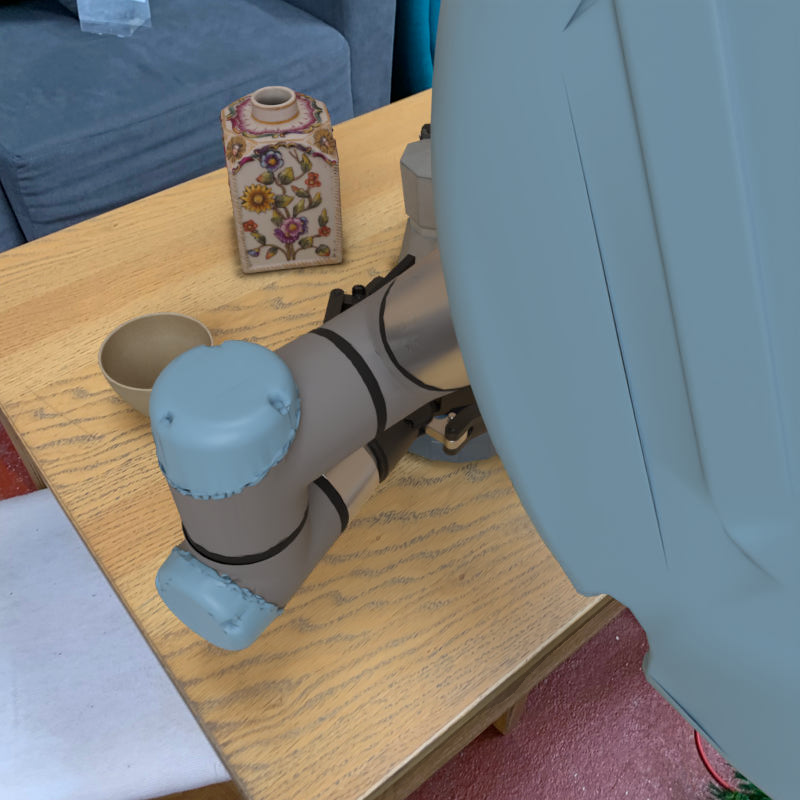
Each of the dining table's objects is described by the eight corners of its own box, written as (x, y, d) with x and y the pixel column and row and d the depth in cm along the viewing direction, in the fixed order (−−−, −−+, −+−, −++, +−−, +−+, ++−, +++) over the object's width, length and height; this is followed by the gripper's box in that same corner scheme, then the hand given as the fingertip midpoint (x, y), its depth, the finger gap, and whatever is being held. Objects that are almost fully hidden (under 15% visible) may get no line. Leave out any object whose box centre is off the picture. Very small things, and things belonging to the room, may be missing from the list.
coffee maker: (484, 304, 84) (505, 155, 71) (405, 311, 83) (411, 161, 70) (456, 225, 94) (470, 81, 81) (386, 230, 93) (387, 85, 79)
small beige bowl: (116, 450, 69) (94, 396, 64) (120, 373, 76) (100, 318, 70) (227, 434, 71) (216, 380, 65) (222, 360, 77) (211, 305, 72)
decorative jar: (344, 265, 88) (338, 117, 75) (242, 277, 86) (218, 128, 73) (328, 207, 96) (321, 64, 83) (234, 217, 94) (211, 72, 81)
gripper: (215, 416, 62) (360, 278, 74) (488, 560, 53) (601, 378, 66) (199, 348, 56) (359, 212, 69) (501, 498, 48) (621, 311, 60)
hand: (477, 293), depth 67 cm, fingers open, 13 cm apart
